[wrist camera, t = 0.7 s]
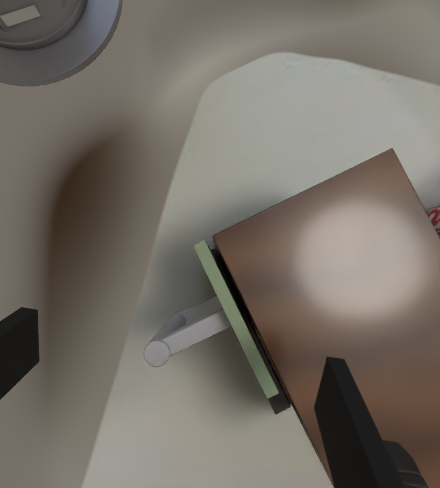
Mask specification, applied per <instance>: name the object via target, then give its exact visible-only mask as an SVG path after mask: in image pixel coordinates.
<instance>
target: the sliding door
mask: <svg viewBox="0 0 440 488" xmlns="http://www.w3.org/2000/svg"><path fill="white" fill-rule="evenodd" d="M193 248H194V250H195V252H196V254H197V256H198V258H199V260H200V262H201V264H202V266H203V268H204V270H205V272H206V274H207V277H208V279H209V281H210V283H211V285H212V287H213V289H214V291H215V293H216V296H213V297H211V298H209V299H207V300H205V301H203V302H201V303H199V304H197V305H195V306H193V307H191V308H189V309H187V310H185V311H183V312H181V311H178V312H176V313H174V314H173V315H172V317H171V318H170V319H169V320H168V321H167V322H166V324H165V325H164V326H163V327H162V328H161V329H160V331H159V332H158V333H157V334H156V335H155V336H154V338H153V339H152V340H151V341H150V342H149V343H148V345H147V346H146V347H145V349H144V359H145V361H146V362H147V363H148V364H149V365H151V366H153V367H160V366H162V365H164V364H165V363H166V362H167V361H168V359H169V357H170V356H172V355H174V354H176V353H178V352H180V351H182V350H184V349H186V348H188V347H190V346H192V345H194V344H196V343H198V342H200V341H202V340H204V339H206V338H208V337H210V336H212V335H215V334H217V333H219V332H221V331H223V330H225V329H227V328H229V327H231V326H232V328H233V330H234V332H235V334H236V336H237V339H238V341H239V343H240V345H241V347H242V349H243V351H244V353H245V355H246V357H247V359H248V361H249V363H250V365H251V368H252V370H253V372H254V374H255V376H256V378H257V380H258V382H259V384H260V386H261V388H262V390H263V392H264V394H265V396H266V399H268V398H270V397H272V396H274V395H276V394H278V393H279V392H278V390H277V387H276V385H275V383H274V381H273V379H272V377H271V374H270V372H269V370H268V368H267V366H266V363H265V361H264V359H263V357H262V355H261V352H260V350H259V348H258V346H257V344H256V342H255V339H254V337H253V335H252V333H251V331H250V329H249V327H248V325H247V323H246V320H245V318H244V316H243V314H242V312H241V310H240V308H239V306H238V304H237V302H236V300H235V298H234V296H233V294H232V292H231V290H230V288H229V286H228V283H227V281H226V279H225V277H224V275H223V273H222V271H221V269H220V267H219V265H218V263H217V261H216V259H215V257H214V255H213V253H212V251H211V249H210V247H209V246H208V244H207V243H206V241H205V240H203V241H201V242H199V243H197V244H195V245H193Z"/></svg>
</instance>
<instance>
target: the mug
mask: <svg viewBox="0 0 440 488" xmlns="http://www.w3.org/2000/svg"><path fill="white" fill-rule="evenodd" d="M426 213H427V215H428V217H429V219H430V220H431V222H432V224H433V226H434V228H435V230H436V232H437V234H438V236H439V238H440V206H438V207H435V208H432V209H430V210H429V211H427V212H426Z"/></svg>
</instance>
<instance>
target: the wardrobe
mask: <svg viewBox="0 0 440 488" xmlns="http://www.w3.org/2000/svg"><path fill="white" fill-rule="evenodd" d="M212 237H213V241H214V245H215V248H216V250H217V253H218V255H219V257H220V259H221V261H222V263H223V265H224V267H225V269H226V271H227V273H228V275H229V277H230V279H231V281H232V283H233V285H234V287H235V289H236V292H237V294H238V296H239V298H240V300H241V302H242V304H243V306H244V308H245V310H246V312H247V314H248V316H249V318H250V320H251V322H252V324H253V326H254V328H255V331H256V333H257V335H258V337H259V339H260V341H261V343H262V345H263V347H264V349H265V351H266V353H267V355H268V357H269V359H270V361H271V363H272V365H273V367H274V370H275V372H276V374H277V376H278V378H279V380H280V382H281V384H282V386H283V388H284V390H285V392H286V394H287V396H288V398H289V400H290V402H291V404H292V406H293V408H294V410H295V412H296V414H297V416H298V418H299V420H300V422H301V424H302V426H303V428H304V430H305V432H306V434H307V436H308V438H309V440H310V442H311V444H312V446H313V448H314V450H315V452H316V454H317V456H318V458H319V460H320V462H321V463H322V465H323V467H324V469H325V471H326V473H327V475H328V477H329V479H330V481H331V483H332V485H333V487H334V484H333V480H332V476H331V472H330V468H329V465H328V461H327V457H326V453H325V449H324V445H323V441H322V437H321V433H320V430H319V426H318V422H317V418H316V414H315V410H314V406H315V402H316V398H317V394H318V390H319V386H320V382H321V378H322V374H323V370H324V366H325V362H326V358H327V356H328V357H335V358H341V359H345V361H346V363H347V365H348V367H349V370H350V372H351V374H352V376H353V378H354V380H355V382H356V384H357V387H358V389H359V391H360V393H361V395H362V397H363V399H364V401H365V404H366V406H367V408H368V410H369V412H370V414H371V416H372V419H373V421H374V423H375V425H376V427H377V429H378V431H379V433H380V436H381V438H382V440H386V441H392V442H398V443H400V444H401V446H402V447H403V448H404V449H405V450H406V451H407V452H408V453H409V454H410V455H411V456H412V458H413V459H414V461H415V463H416V465H417V467H418V469H419V470H420V472H421V476H422V477H423V478H424V480H425V482H426V483H427V485H428V488H440V238H439V236H438V234H437V232H436V230H435V228H434V226H433V224H432V222H431V220H430V219H429V217H428V215H427V213H426V211H425V209H424V207H423V205H422V203H421V201H420V200H419V198H418V196H417V194H416V192H415V190H414V188H413V186H412V184H411V182H410V180H409V179H408V177H407V175H406V173H405V171H404V169H403V167H402V165H401V163H400V161H399V159H398V158H397V156H396V154H395V152H394V150H393V149H390V150H387V151H385V152H383V153H381V154H379V155H377V156H375V157H373V158H371V159H369V160H367V161H365V162H363V163H361V164H359V165H357V166H355V167H352V168H350V169H348V170H346V171H344V172H342V173H340V174H338V175H336V176H334V177H332V178H330V179H328V180H326V181H324V182H322V183H319V184H317V185H315V186H313V187H311V188H309V189H307V190H305V191H303V192H301V193H299V194H297V195H295V196H293V197H291V198H289V199H287V200H284V201H282V202H280V203H278V204H276V205H274V206H272V207H270V208H268V209H266V210H264V211H262V212H260V213H258V214H256V215H254V216H252V217H249V218H247V219H245V220H243V221H241V222H239V223H237V224H235V225H233V226H231V227H229V228H227V229H225V230H223V231H221V232H219V233H216V234H214V235H213V236H212ZM211 251H212V253H213V255H214V257H215V259H216V261H217V263H218V265H219V267H220V269H221V271H222V273H223V275H224V277H225V279H226V281H227V283H228V286H229V288H230V290H231V292H232V294H233V296H234V298H235V300H236V302H237V304H238V306H239V308H240V310H241V312H242V314H243V316H244V318H245V320H246V323H247V325H248V327H249V329H250V331H251V333H252V335H253V337H254V339H255V342H256V344H257V346H258V348H259V350H260V352H261V355H262V357H263V359H264V361H265V363H266V366H267V368H268V370H269V372H270V374H271V377H272V379H273V381H274V383H275V385H276V387H277V390H278V392H279V393H278V394H276V395H274V396H272V397H270V398H268V400H269V402H270V404H271V406H272V408H273V410H274V412H275V414H278V413H279V412H281V411H283V410H285V409H287V408H289V407H290V405H289V402H288V400H287V398H286V396H285V394H284V392H283V390H282V388H281V386H280V384H279V382H278V380H277V378H276V376H275V374H274V372H273V370H272V368H271V365H270V363H269V361H268V359H267V357H266V355H265V353H264V351H263V349H262V347H261V345H260V343H259V341H258V339H257V337H256V335H255V333H254V331H253V329H252V326H251V324H250V322H249V320H248V318H247V316H246V314H245V312H244V310H243V308H242V306H241V304H240V302H239V300H238V298H237V296H236V294H235V292H234V289H233V287H232V285H231V283H230V281H229V279H228V277H227V275H226V273H225V271H224V269H223V267H222V265H221V263H220V261H219V259H218V257H217V255H216V253H215V250H214V249H212V250H211Z"/></svg>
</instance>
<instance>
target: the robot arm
mask: <svg viewBox="0 0 440 488" xmlns="http://www.w3.org/2000/svg"><path fill="white" fill-rule="evenodd" d="M86 3H87V0H0V46H2V47H5V48H8V49H13V50H34V49H39V48H43V47H46V46H48V45H51V44H53V43H55V42H57V41H58V40H60V39H62V38H63V37H64V36H65V35H67V34H68V33H69V32H70V31H71V30H72V29H73V28H74V26H75V25H76V24H77V22H78V21H79V19H80V18H81V16H82V14H83V12H84V9H85V6H86ZM38 362H39V339H38V310H36V309H30V308H23V307H21V308H20V309H18V310H17V311H15V312H14V313H12V314H11V315H9V316H8V317H6V318H5V319H3V320H2V321H0V399H1V398H2V397H4V395H6V394H7V393H8V392H9V391H10V390H11V389H12V388H13V387H14V386H15V385H16V384H17V383H18V382H19V381H20V380H21V379H22V378H23V377H24V376H25V375H26V374H27V373H28V372H29V371H30V370H31V369H32V368H33V367H34V366H35V365H36V364H37V363H38ZM314 410H315V414H316V418H317V422H318V426H319V430H320V433H321V437H322V441H323V445H324V449H325V453H326V457H327V461H328V465H329V468H330V472H331V476H332V480H333V484H334V488H428V485H427V483H426V482H425V480H424V478H423V477H422V476H421V472H420V470H419V469H418V467H417V465H416V463H415V461H414V459H413V458H412V456H411V455H410V454H409V453H408V452H407V451H406V450H405V449H404V448H403V447H402V446H401V444H400V443H398V442H392V441H386V440H382V438H381V436H380V433H379V431H378V429H377V427H376V425H375V423H374V421H373V419H372V416H371V414H370V412H369V410H368V408H367V406H366V404H365V401H364V399H363V397H362V395H361V393H360V391H359V389H358V387H357V384H356V382H355V380H354V378H353V376H352V374H351V372H350V370H349V367H348V365H347V363H346V361H345V359H341V358H335V357H328V356H327V358H326V362H325V366H324V370H323V374H322V378H321V382H320V386H319V390H318V394H317V398H316V402H315V406H314Z"/></svg>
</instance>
